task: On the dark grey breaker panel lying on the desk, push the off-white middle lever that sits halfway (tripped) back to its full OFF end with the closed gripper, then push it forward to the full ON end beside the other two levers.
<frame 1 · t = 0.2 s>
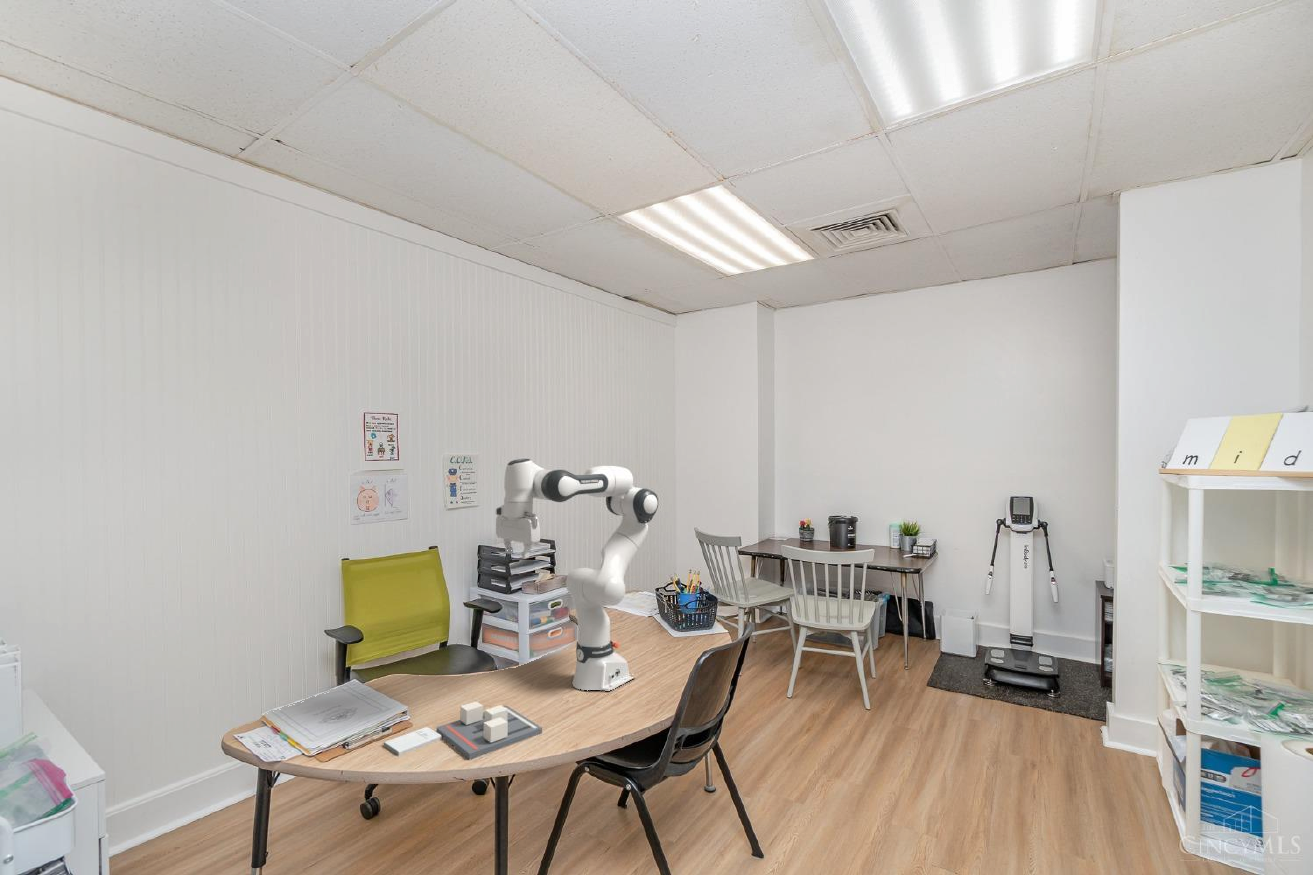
hand: (517, 555, 186), 47 cm above the table, tool pointing down, fingers open, 8 cm apart
breaker panel: (489, 732, 169), on the table
external hard drive: (412, 744, 163), on the table
breaker c: (495, 729, 163), point 4 cm above the table, slide at 8.0 cm
tripped breaker: (496, 716, 171), point 4 cm above the table, slide at 4.0 cm
breaker a: (471, 712, 173), point 4 cm above the table, slide at 8.0 cm
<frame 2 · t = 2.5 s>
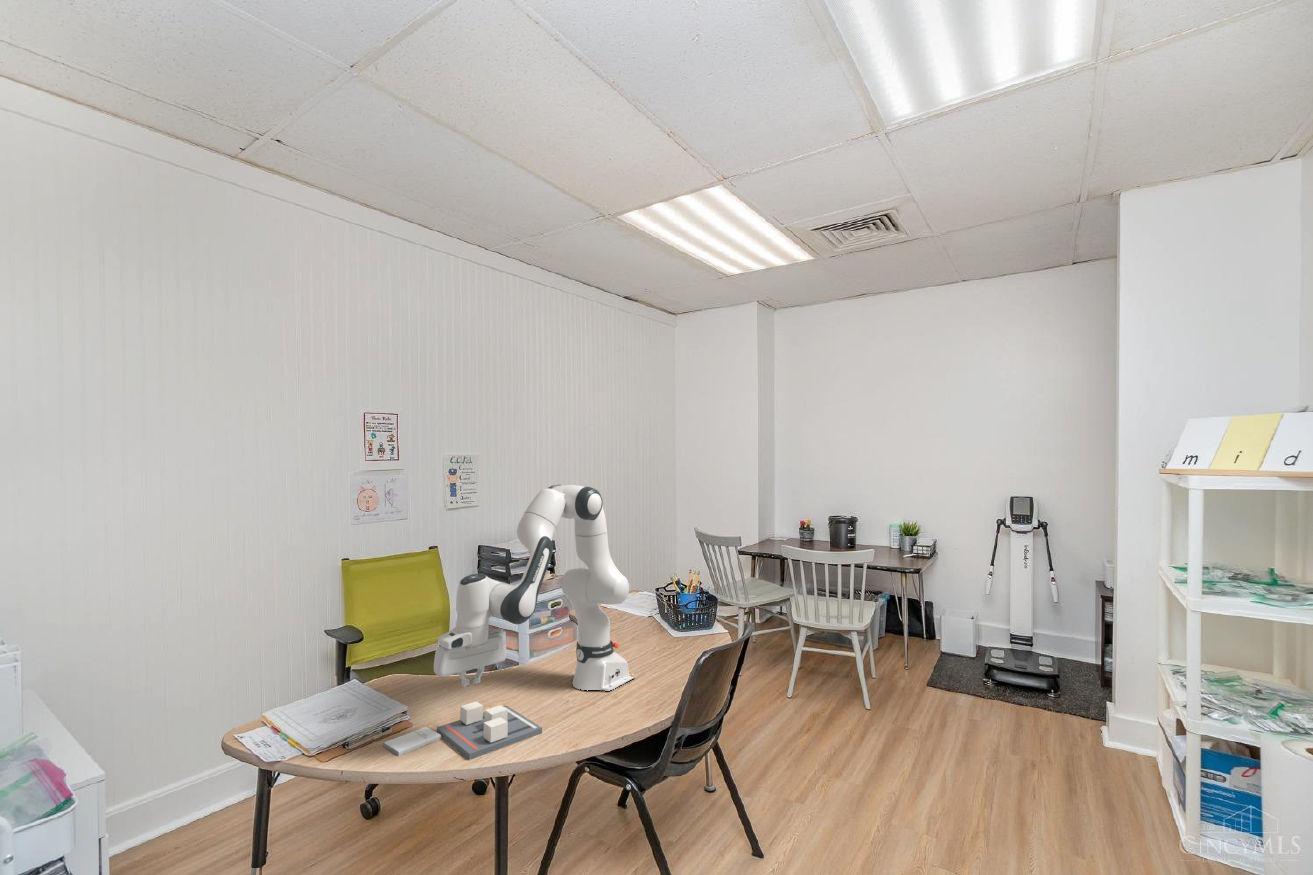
hand: (470, 684, 165), 15 cm above the table, tool pointing down, fingers closed
nothing on the table moved.
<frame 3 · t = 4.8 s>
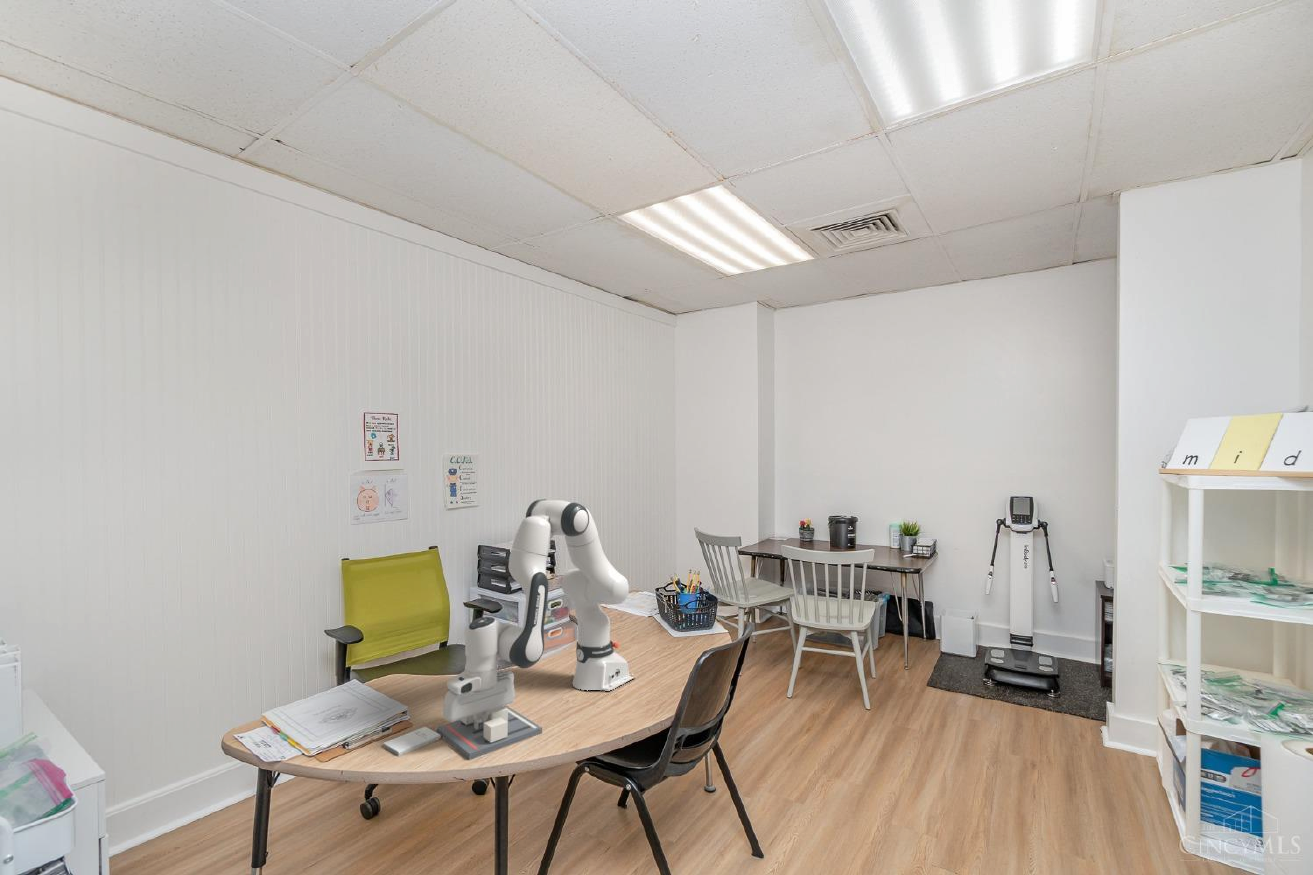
hand: (479, 727, 167), 2 cm above the table, tool pointing down, fingers closed
tripped breaker: (496, 716, 171), point 4 cm above the table, slide at 3.9 cm, touching gripper
everything else where it was.
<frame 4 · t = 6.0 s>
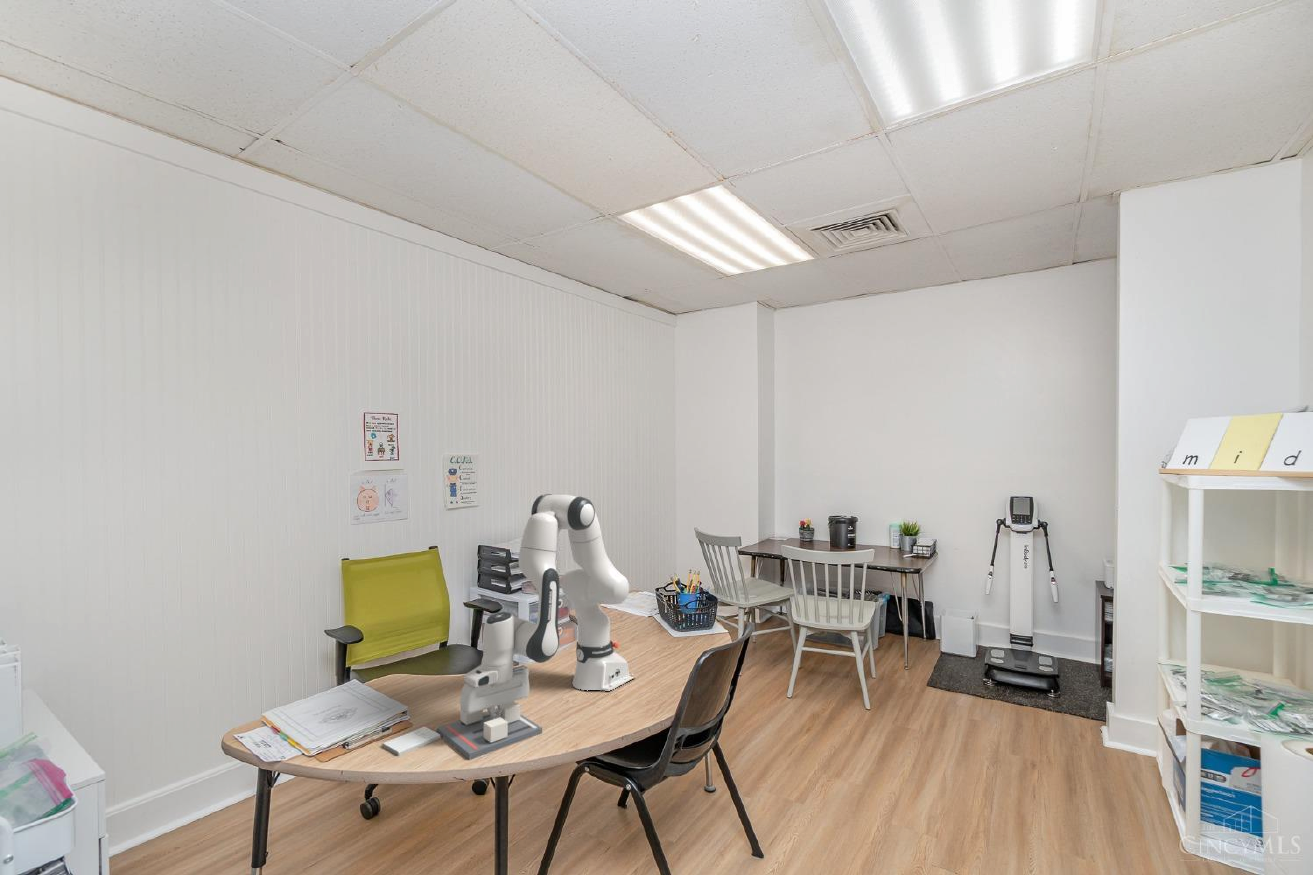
hand: (495, 720, 171), 3 cm above the table, tool pointing down, fingers closed
tripped breaker: (509, 712, 174), point 4 cm above the table, slide at -0.2 cm, touching gripper
everything else where it was.
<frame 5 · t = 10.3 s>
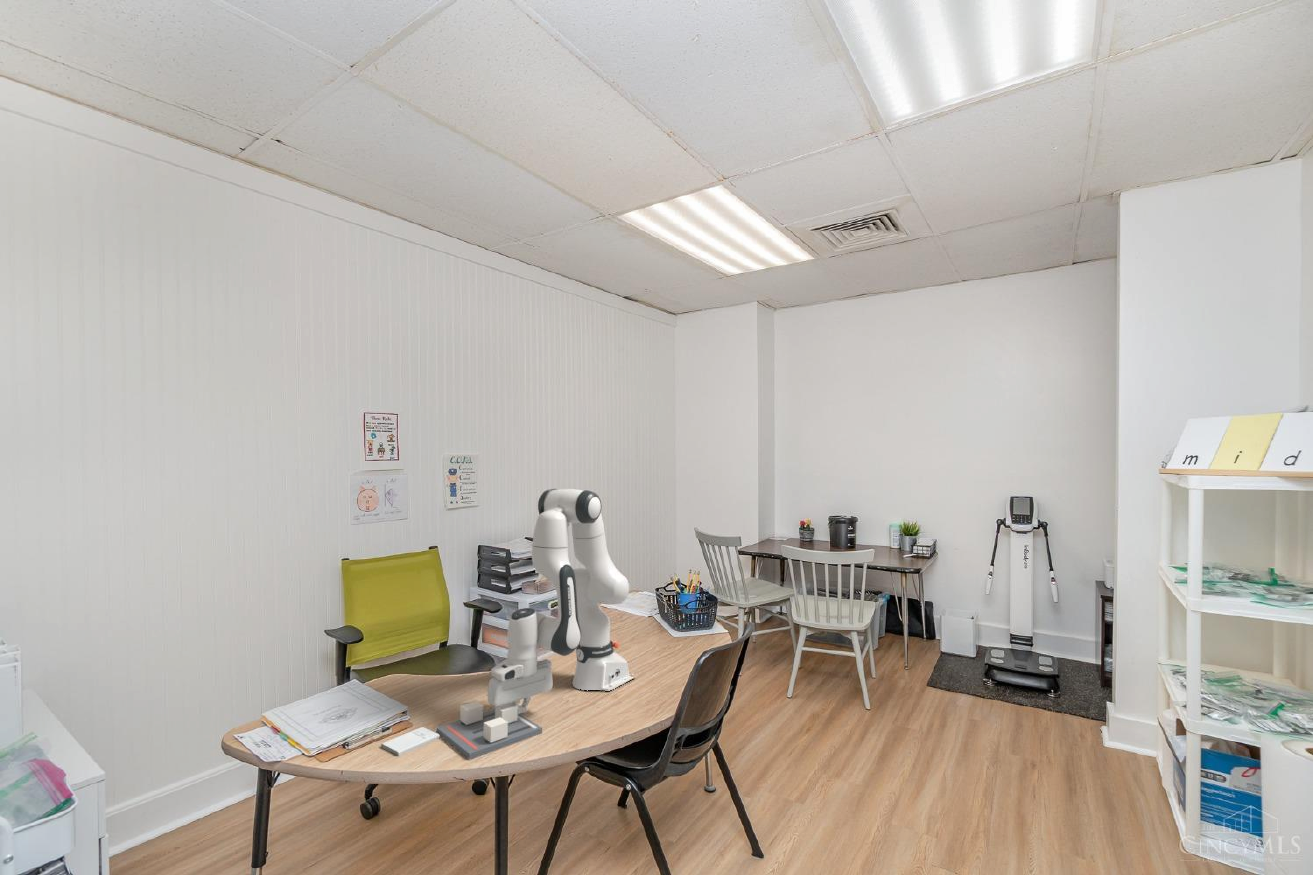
hand: (520, 712, 176), 3 cm above the table, tool pointing down, fingers closed
tripped breaker: (506, 713, 173), point 4 cm above the table, slide at 0.7 cm, touching gripper
everything else where it was.
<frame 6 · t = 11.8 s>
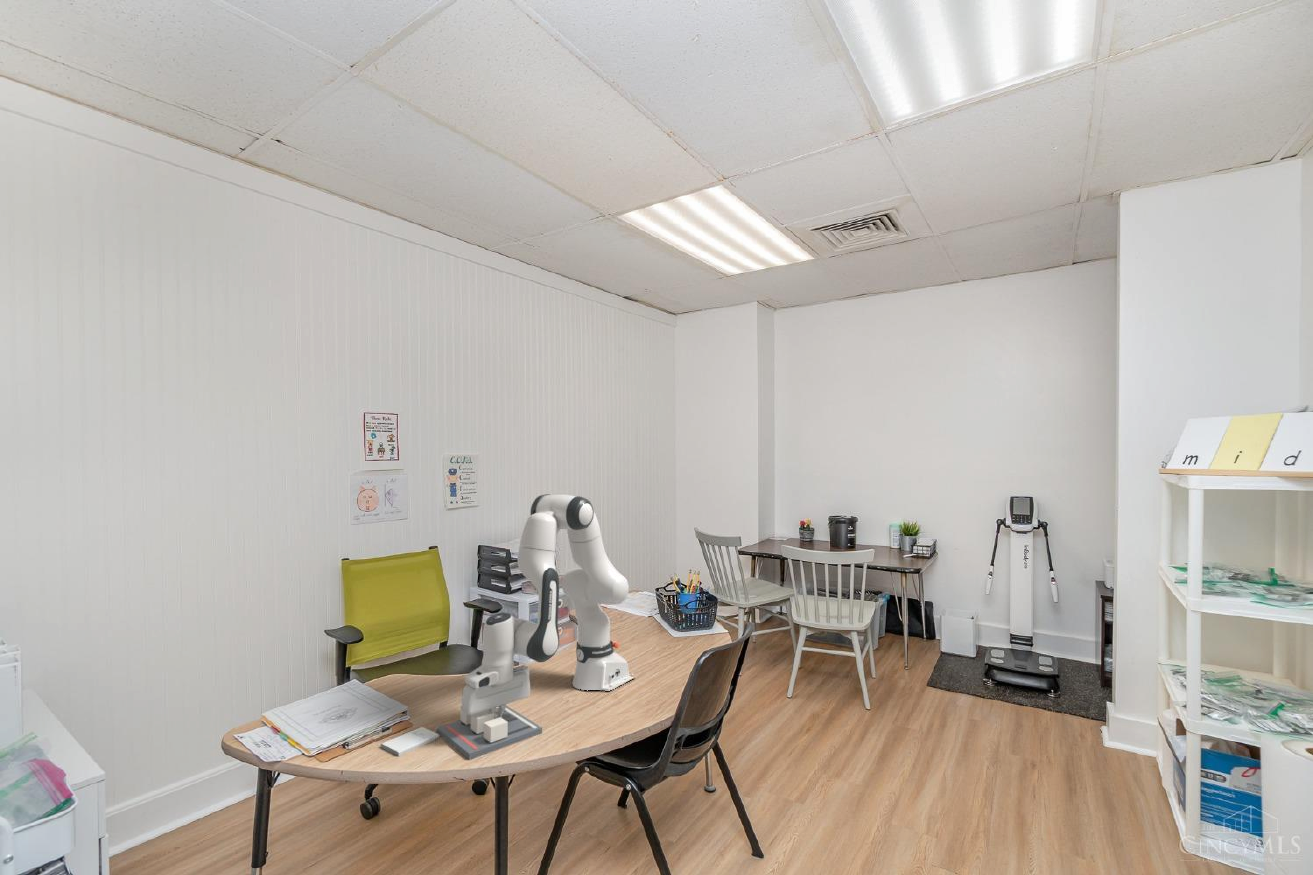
hand: (496, 720, 171), 3 cm above the table, tool pointing down, fingers closed
tripped breaker: (482, 721, 168), point 4 cm above the table, slide at 8.3 cm, touching gripper
everything else where it was.
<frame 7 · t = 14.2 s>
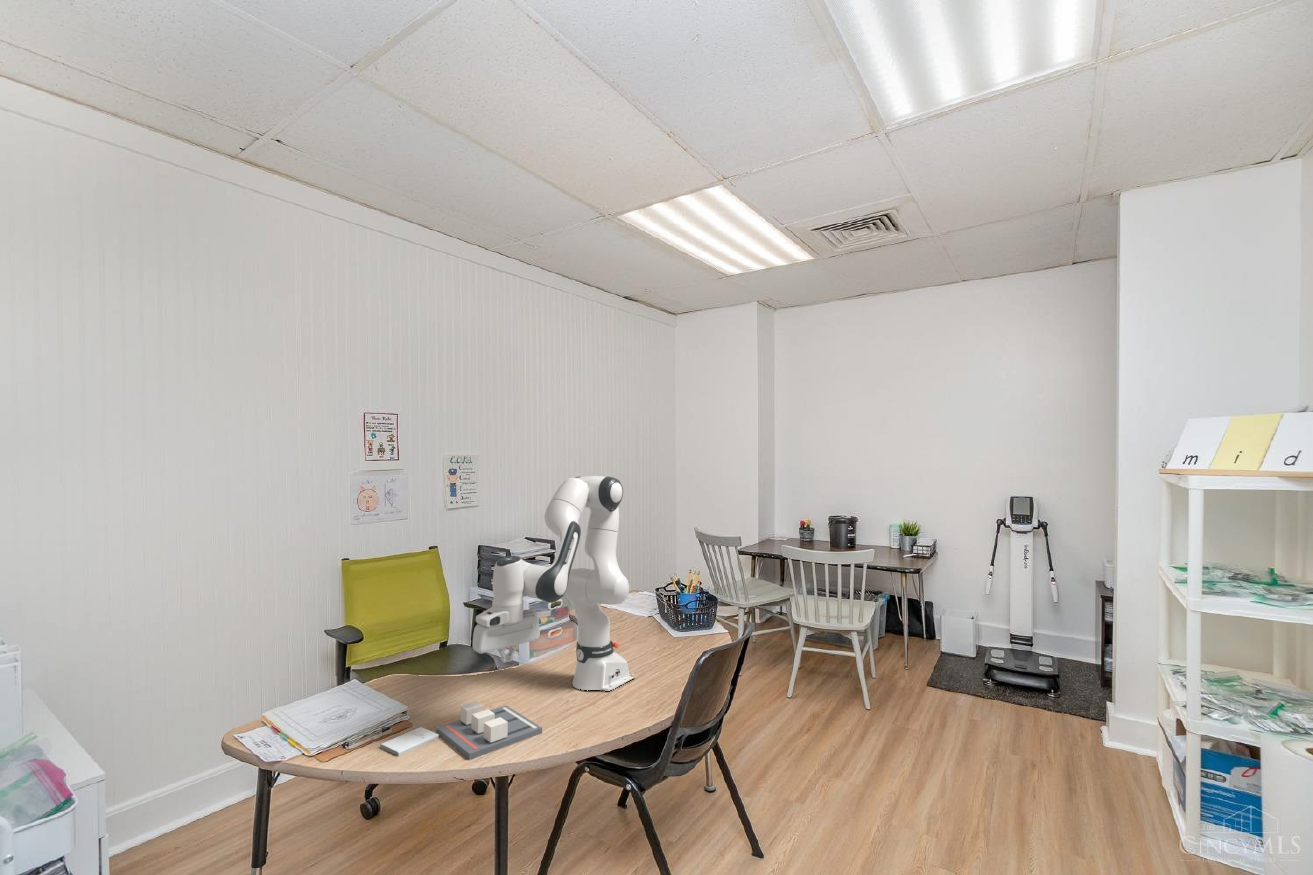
hand: (506, 661, 173), 19 cm above the table, tool pointing down, fingers closed
tripped breaker: (483, 720, 168), point 4 cm above the table, slide at 8.1 cm
everything else where it was.
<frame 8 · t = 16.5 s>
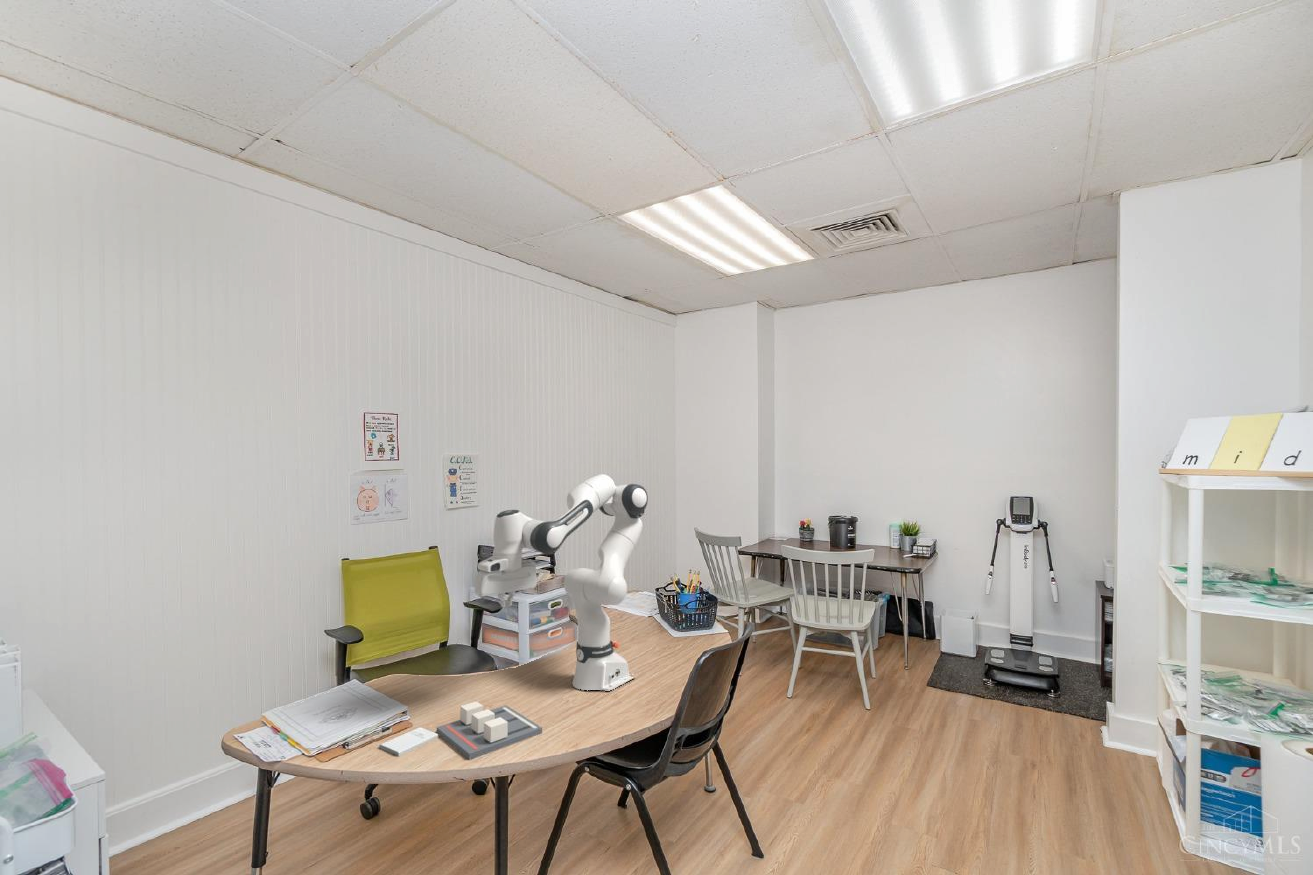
hand: (506, 606, 188), 31 cm above the table, tool pointing down, fingers closed
nothing on the table moved.
at the end: tripped breaker slide at 8.1 cm; breaker a slide at 8.0 cm; breaker c slide at 8.0 cm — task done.
